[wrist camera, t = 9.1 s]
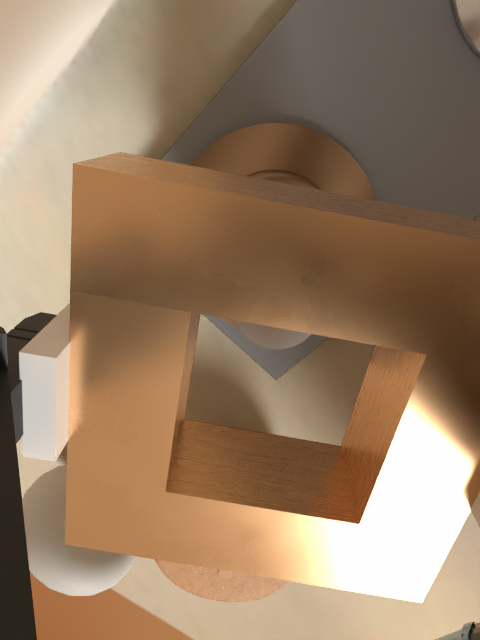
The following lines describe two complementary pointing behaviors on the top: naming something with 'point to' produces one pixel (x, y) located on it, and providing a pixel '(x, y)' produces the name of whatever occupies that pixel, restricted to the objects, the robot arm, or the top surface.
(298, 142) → the walnut hub
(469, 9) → the pale stepped hub
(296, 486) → the wooden square ring
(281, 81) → the rubber mat
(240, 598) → the lidded jar
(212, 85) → the top surface
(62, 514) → the grey piece
